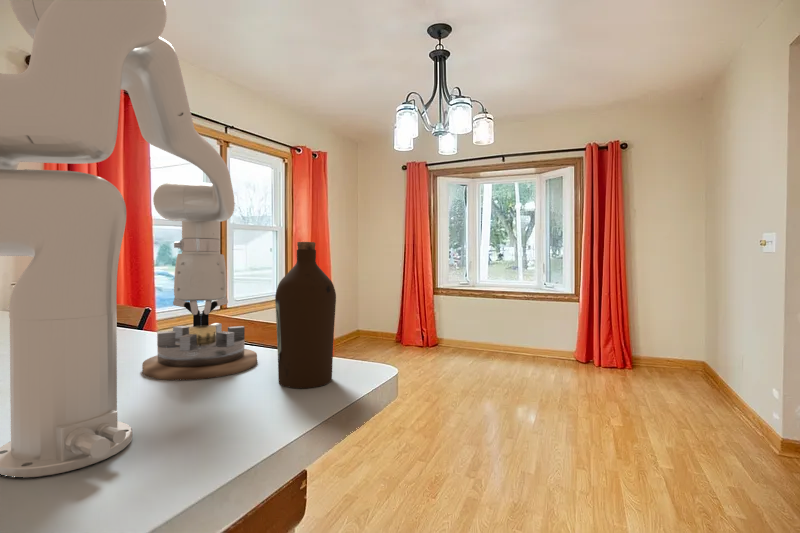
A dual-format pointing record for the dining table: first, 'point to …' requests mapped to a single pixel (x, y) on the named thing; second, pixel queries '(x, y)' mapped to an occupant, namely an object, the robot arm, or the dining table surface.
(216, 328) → the crenellated turret ring
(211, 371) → the board
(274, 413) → the dining table surface
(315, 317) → the olive oil
